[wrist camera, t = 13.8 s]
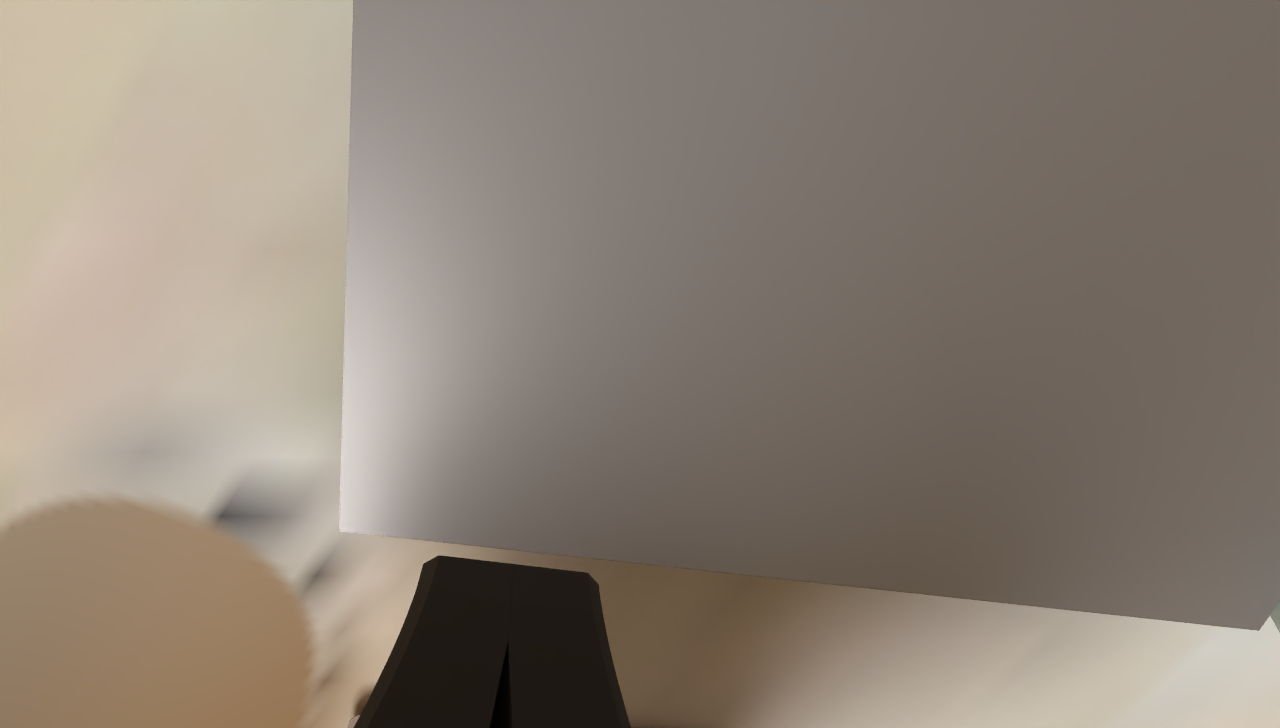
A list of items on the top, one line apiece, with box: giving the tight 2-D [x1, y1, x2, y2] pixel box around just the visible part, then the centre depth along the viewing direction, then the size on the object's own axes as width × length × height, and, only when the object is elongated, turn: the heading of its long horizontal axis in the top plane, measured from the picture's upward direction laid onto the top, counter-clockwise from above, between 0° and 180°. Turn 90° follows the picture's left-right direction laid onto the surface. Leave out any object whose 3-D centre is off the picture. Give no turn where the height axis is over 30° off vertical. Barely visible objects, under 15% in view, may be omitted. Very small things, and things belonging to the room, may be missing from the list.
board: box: [339, 0, 1280, 630], centre depth 17 cm, size 14×16×2 cm
